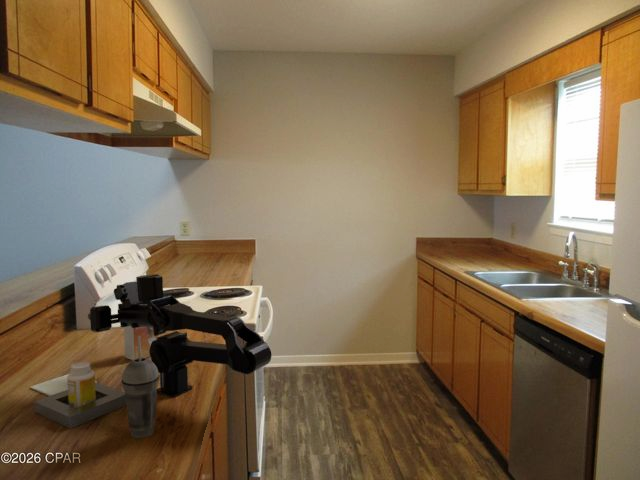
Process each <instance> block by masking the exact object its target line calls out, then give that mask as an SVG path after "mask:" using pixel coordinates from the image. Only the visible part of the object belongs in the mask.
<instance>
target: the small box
mask: <svg viewBox="0 0 640 480" xmlns="http://www.w3.org/2000/svg"><path fill="white" fill-rule="evenodd" d="M123 333H124V334H123V335H124V336H123V337H124V358H126V359H128V360H130V361H133V360H135V359H138V336H140V343H141V358H146V359H148V358H151V357H150V353H149V350H150V346H151V343H152V341H154V340H157V338H158V337H159V335H157V336H154V332H153V327H137V328H132V327H131V326H127V327H123Z"/></svg>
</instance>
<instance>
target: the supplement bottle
mask: <svg viewBox="0 0 640 480" xmlns="http://www.w3.org/2000/svg"><path fill="white" fill-rule="evenodd" d="M68 374H69V375H68V377H67V382H68V399H69V406H71V407H74V408H78V407H80V406H83V405H85V404H88V403H90V402H93V401H95V400H96V394H95V381H96V380H95V379H96V377H95V372H94V371H93V370H91V363H90V362H88V361H80V362H75V363H73V364H72V365H70V372H69V373H68Z"/></svg>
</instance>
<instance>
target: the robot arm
mask: <svg viewBox="0 0 640 480" xmlns="http://www.w3.org/2000/svg"><path fill="white" fill-rule="evenodd" d="M135 278H136V279H135V280H136V281H128V282H125V283H122V284H117V285H116V288H114V289H113V295H114V298H115V300H116V301H120V303H118V305H117V307H118V308H117V313H113V314H112V308H111V307H110V306H109V305H108V304H107V305H97V306H92V307H91V308H90V309H89V313H88V314H87V318H88V320H89V321H90V331H91V332H92V333H101V332H105V331H106V332H107V331H110V330H111V329H112V326H113V325H114V324H118V323H120V325H119V326H120V328H124V327H127V326H131V327H132V328H137V327H153V332H154V336H157V335H158V338H157V340H154V341H152V343H151V346H150V350H149V353H150V357H149V358H150V360H151V361H152V362H153V363H154V364H155V365H156V367H157V369H158V374H159V385H160V387H157V393H159V394H162V395H165V396H168V397H171V398H175V397H177V396H180V395H182V394H183V393H186V392H188V391H190V390H192V389H193V387H194V386H193V385H190V384H189V383H188V381H189V380H188V379H189V377H188V374H189V373H188V366H187V365H189V364H191V363H193V362H194V361H195V362H202V363H211V364H219V365H220V364H221V365H227V366H228V367H229V368H230V370H232V371H233V372H236V373H240V374H242V375H251V374H253V373H255V372H256V371H258V370H260V369H261V368H263V367H265V366H267V365H268V364H269V363H270V362H271V360H272V349H271V348H270V346H269V345H268V343H267V342H266V341H264V339H263V338H262V336H261V335H260V334H259V333H258V332H257V331H255V330H254V329H252V328H251V327H249V326H248V325H247V324H246V323H245V321H244V320H243V318H241V317H238V316H227V315H226V316H225V315H222V314H221V315H220V314H216V313H209V312H202V311H197V310H194V309H193V308H192V307H191V306H190V305H187V304H184V303H181V302H180V301H179V300H178V299H177V298H176V297H175V296H174V295H172V294H170V295H165V293H164V285H163V283H164V281H163V280H164V279H163V278H164V277H163V276H162V275H160V274H159V273H153V274H144V275H139V276H136V277H135ZM181 330H190V331H195V332H200V333H205V334H212V335H216V336H221V337H222V338H223V341H224V342H225V343H217V342H216V343H215V342H204V341H194V340H190V339H189V338H188V332H187V331H186V332H185V331H183V332H179V331H181ZM172 331H173V332H172ZM166 332H170V333H167V334H165V333H166ZM163 334H164V335H163ZM160 335H161V336H160ZM237 337H238V338H240V340H243V341H244V342H243V343H240V344H239V341H238V338H237Z"/></svg>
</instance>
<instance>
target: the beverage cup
mask: <svg viewBox="0 0 640 480" xmlns="http://www.w3.org/2000/svg"><path fill="white" fill-rule="evenodd" d="M121 378H122V379H121V381H120V382H121V383H122V388H123V392H125V397H126V405H125V406H126V411H127V420H128V426H129V431H130V436H131V437H132V438H135V439H143V438H144V439H145V438H147V437H151V436H152V435H153V434H154V433H155V425H156V413H157V412H156V410H157V393H158V392H157V389H158V388H159V387H158V386H159V382H160V373H158V369H157V367H156V365H155V364H154V363H153V362H152V360H151V359H148V358H141V343H140V336H138V359H135V360H130V362H129V363H127V364H126V366H125V367H124V370H123V372H122V377H121Z"/></svg>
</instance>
